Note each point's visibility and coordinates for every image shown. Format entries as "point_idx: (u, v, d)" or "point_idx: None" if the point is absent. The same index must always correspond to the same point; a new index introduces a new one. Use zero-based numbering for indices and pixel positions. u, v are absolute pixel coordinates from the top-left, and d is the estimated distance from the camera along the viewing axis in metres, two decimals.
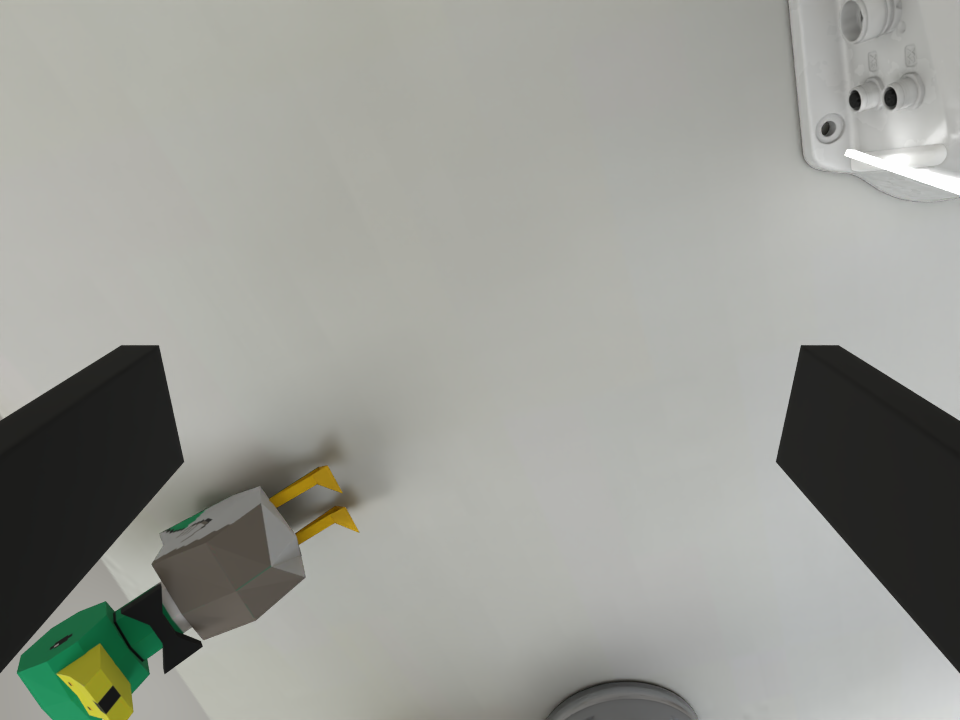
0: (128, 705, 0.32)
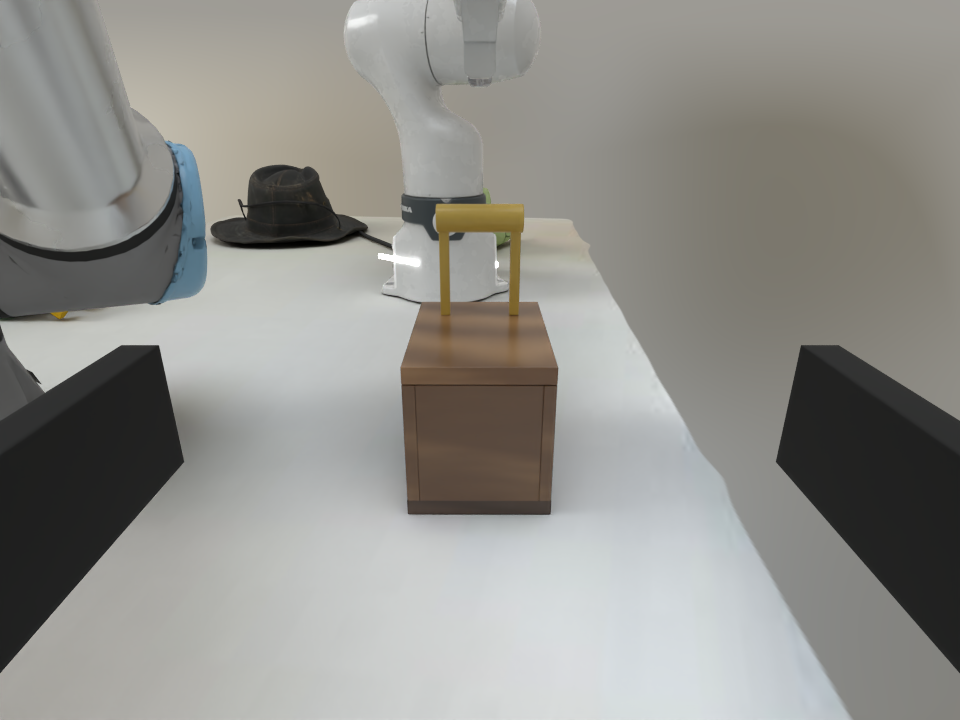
0: None
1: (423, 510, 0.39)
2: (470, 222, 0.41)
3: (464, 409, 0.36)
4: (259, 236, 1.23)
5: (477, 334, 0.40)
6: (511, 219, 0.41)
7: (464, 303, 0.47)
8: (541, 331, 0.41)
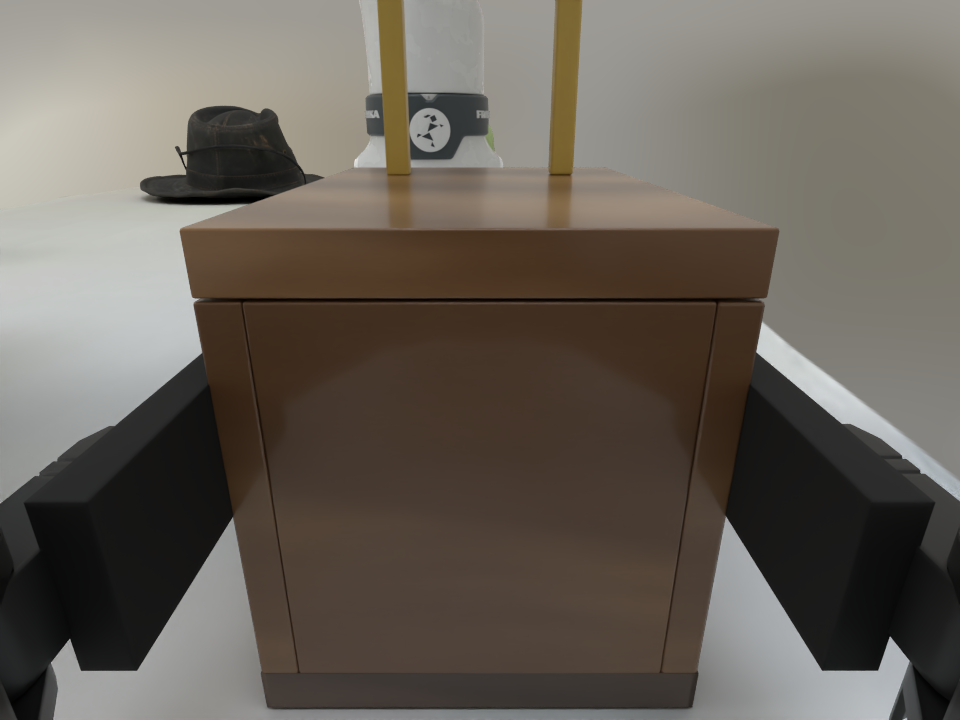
0: None
1: (312, 697, 0.13)
2: None
3: (425, 393, 0.10)
4: None
5: (475, 189, 0.14)
6: None
7: (445, 168, 0.21)
8: (645, 186, 0.15)
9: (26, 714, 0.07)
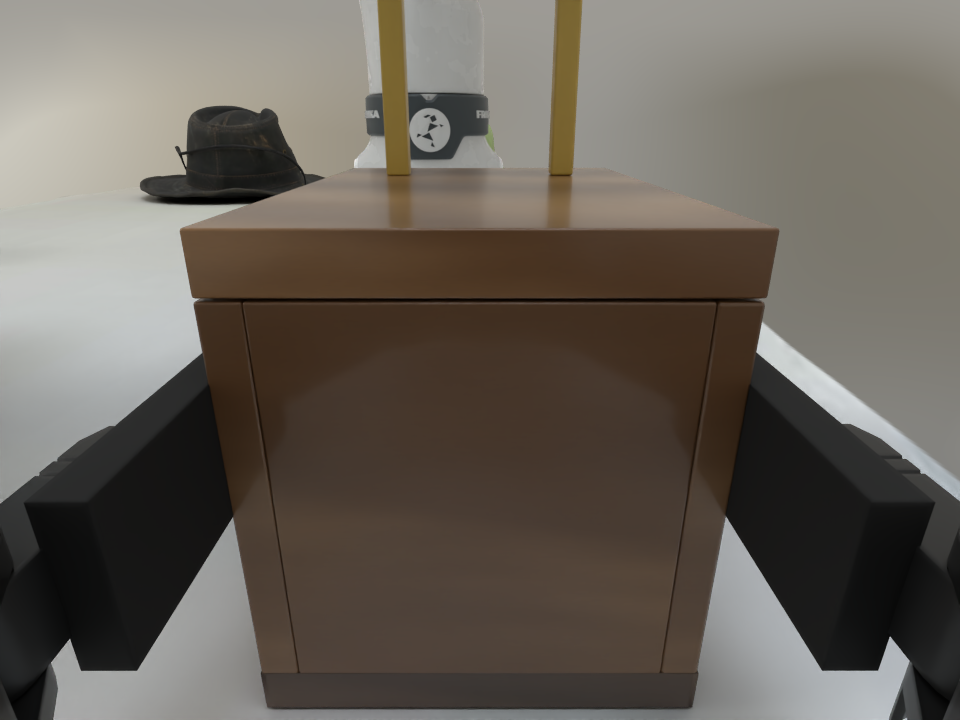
0: None
1: (312, 697, 0.13)
2: None
3: (425, 393, 0.10)
4: (200, 191, 0.97)
5: (475, 189, 0.14)
6: None
7: (445, 168, 0.21)
8: (646, 186, 0.15)
9: (26, 714, 0.07)
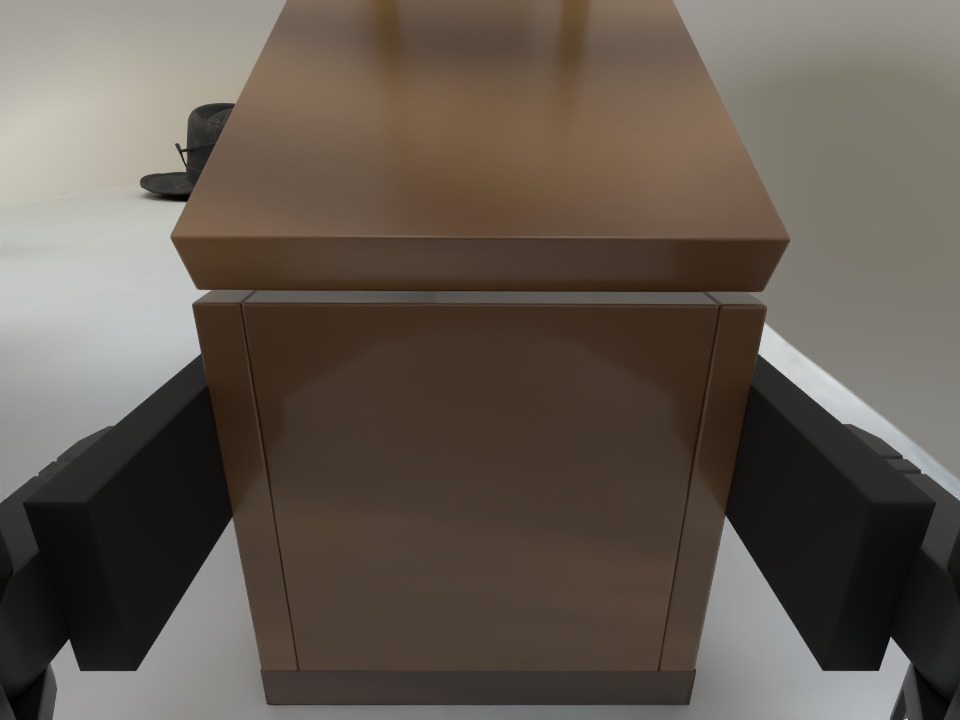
0: None
1: (312, 694, 0.13)
2: None
3: (426, 394, 0.10)
4: None
5: (475, 56, 0.12)
6: None
7: None
8: (676, 41, 0.13)
9: (25, 714, 0.07)
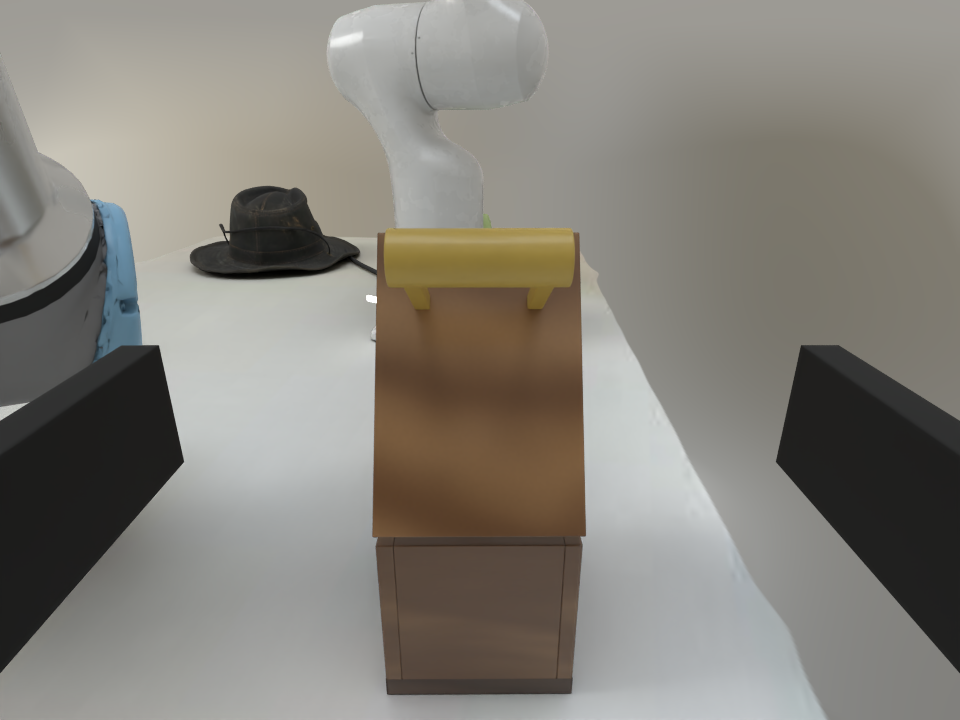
0: None
1: (407, 690, 0.30)
2: (460, 287, 0.20)
3: (459, 574, 0.27)
4: (242, 264, 1.14)
5: (476, 403, 0.26)
6: (545, 285, 0.20)
7: None
8: (574, 386, 0.26)
9: None
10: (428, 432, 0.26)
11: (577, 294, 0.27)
